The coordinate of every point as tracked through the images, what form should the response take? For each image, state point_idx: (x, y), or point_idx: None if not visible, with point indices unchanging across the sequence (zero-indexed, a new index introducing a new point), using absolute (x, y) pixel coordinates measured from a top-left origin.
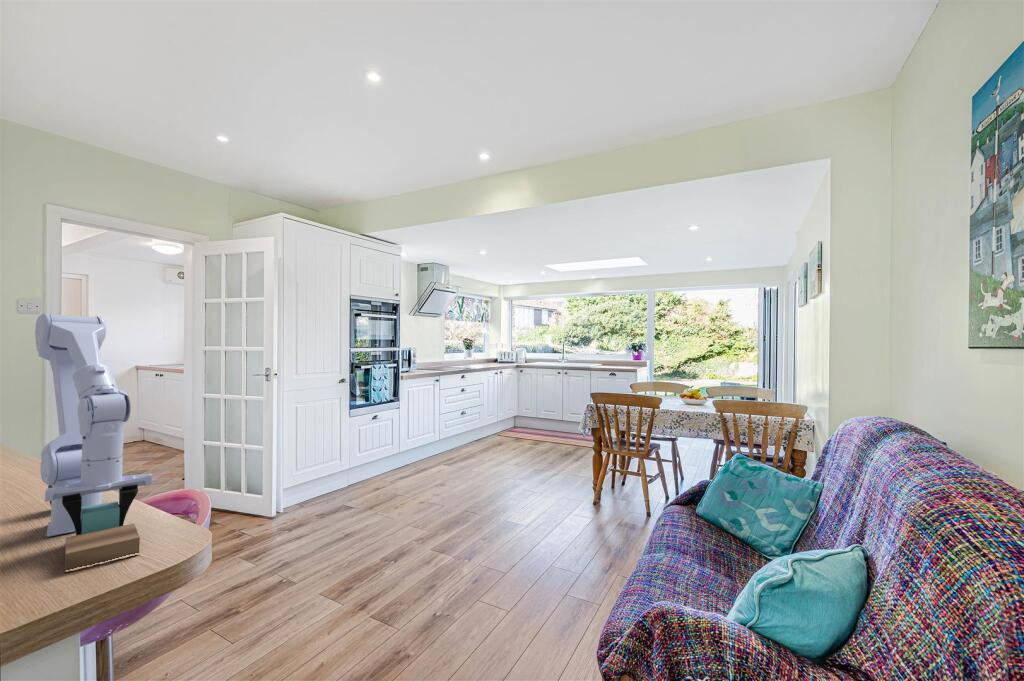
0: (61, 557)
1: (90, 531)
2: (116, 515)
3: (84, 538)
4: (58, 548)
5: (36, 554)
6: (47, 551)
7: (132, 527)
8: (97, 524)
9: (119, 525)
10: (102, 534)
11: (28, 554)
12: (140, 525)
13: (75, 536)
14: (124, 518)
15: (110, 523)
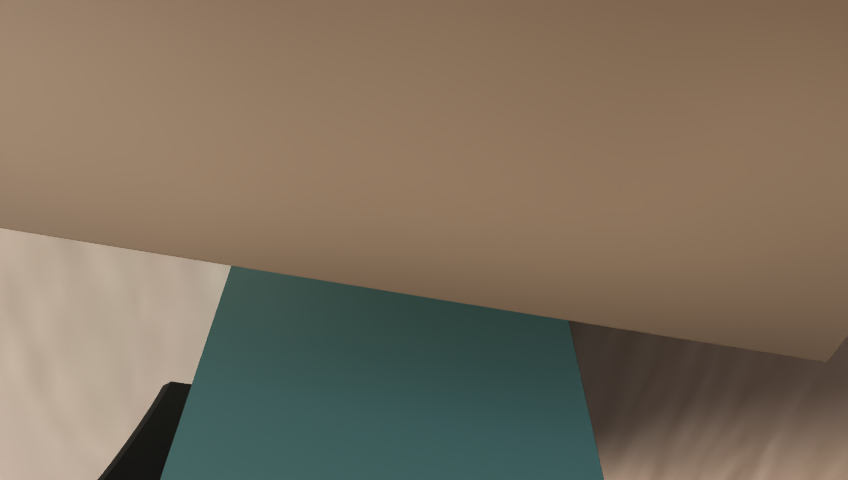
0: None
1: (507, 409)
2: None
3: (764, 94)
4: (661, 424)
5: (813, 419)
6: (738, 422)
7: (3, 8)
8: (439, 468)
9: None
10: (505, 55)
11: (833, 459)
12: (26, 461)
13: (757, 305)
14: (108, 472)
15: (289, 425)
